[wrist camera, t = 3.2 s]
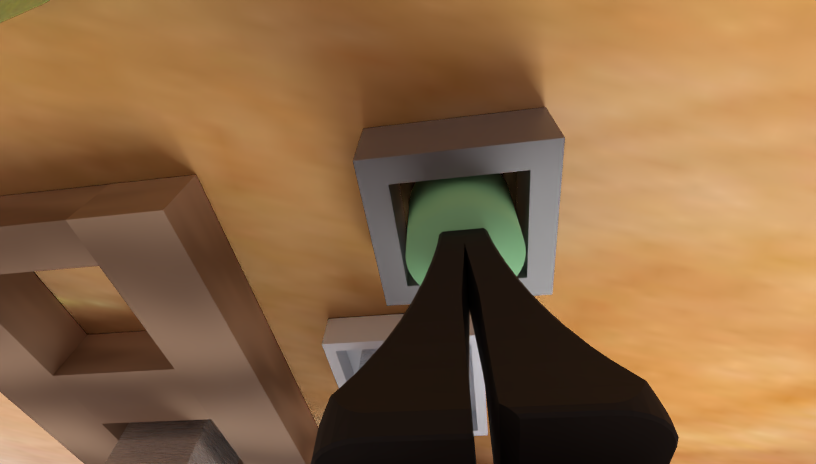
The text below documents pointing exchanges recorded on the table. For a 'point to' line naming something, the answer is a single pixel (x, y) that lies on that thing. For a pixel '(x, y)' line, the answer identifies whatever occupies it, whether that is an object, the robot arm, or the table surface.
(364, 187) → the button housing
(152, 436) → the seated billet
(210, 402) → the board
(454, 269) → the robot arm
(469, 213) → the button
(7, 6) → the plant pot
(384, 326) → the shallow grey tray
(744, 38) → the table surface
